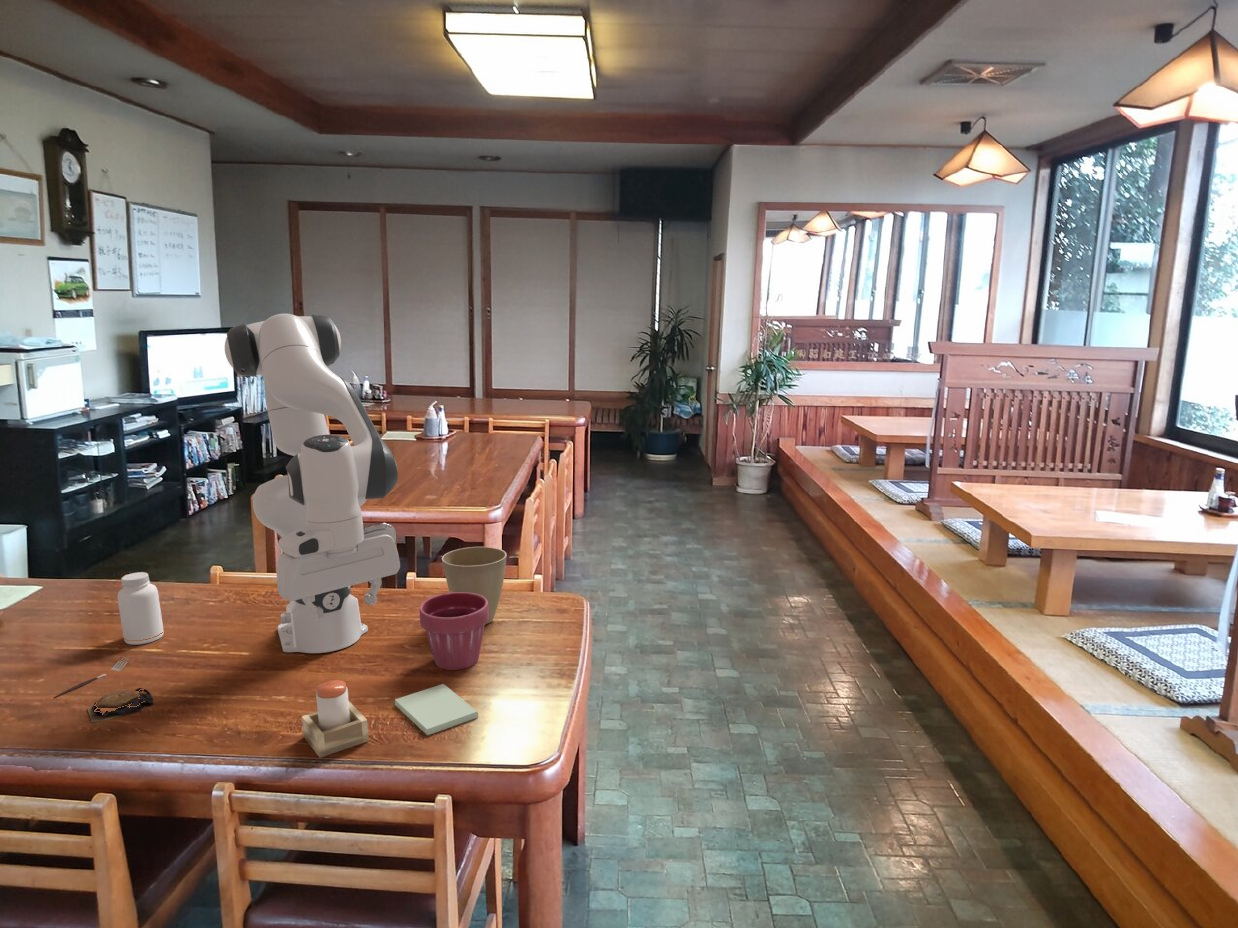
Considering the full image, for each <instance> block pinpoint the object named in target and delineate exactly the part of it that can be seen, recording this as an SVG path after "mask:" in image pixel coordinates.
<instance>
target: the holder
mask: <svg viewBox="0 0 1238 928" xmlns="http://www.w3.org/2000/svg"><path fill="white" fill-rule="evenodd" d="M349 711H350V722H351V723H348V724H345V725H341V726H338V727H335V728H332V729H329V730H326V731H323V732H321V730H320V729H319V721H318V711H315V712H311V713H308V714H304V715H303V716H301V723H302V733H303V738H304V739H305V741H306V742H307V743H308V745H309V746H310V748H312V751H314V752H315V754H316V755H317V756H318V758H320V759H321V758H325V757H326V756H329V755H333V754H335V753H338V752H341V751H344V750H347V749H349V748H353V747H355V746H359V745H362V744H364V743H367V742H369V741H370V737H369V726H368V725H369V724H368V720H367V718H366V717H365V716H364V715H363V714H362V713H361V712H360V711H359V710H358V709H357V708H356V707H355V706H354V705H353V704H352V702H351V701H349Z"/></svg>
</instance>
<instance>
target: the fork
mask: <svg viewBox="0 0 1238 928" xmlns="http://www.w3.org/2000/svg"><path fill="white" fill-rule="evenodd" d="M124 658H125V660H126V659H127V660H129V659H130V660H131V658H128V657H123V659H124ZM127 663H128V662H127V661H125V662H124V661H122V660H120V661H119V660H118V661H117V662H116V664H115V665H113V667H112V668H110V670H111V671H118V672H120V671H122V670H123V668H125V666H126V665H127ZM105 676H107V674H106V673H103V674H101V675H99V676H96V677H93V678H91V679H88V680H85V681H83V682H80V683H78V684H75V686H72V687H70V688H68V689H67V690H65V691H63V692H60V693H59V694H57V695H55V696H54V697H53V699H57V698H59V697H61V696H64V695H66V694H68V693H70V692H73V691H75V690H78V689H80V688H83V687H85V686H87V685H89V684H90V683H92V682H94V681H96V680H98V679H100V678H102V677H105Z"/></svg>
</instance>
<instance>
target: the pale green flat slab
mask: <svg viewBox="0 0 1238 928" xmlns="http://www.w3.org/2000/svg"><path fill="white" fill-rule="evenodd" d="M394 704H395V707H396V708H397V709H398V710H400V711H401V712H402V713H403V714H404V715H405V716H406V717H407V718H408V719H409V720H410V721H411V722H412V723H414V725H416V726H417V727H418V728H419V729H420V730H421V731H422V732H423V733H424V734H425V735H426V736H430V735H432V734H433V735H434V734H436V733H438V732H441V731H444V730H447V729H449V728H453V727H455V726H458V725H460V724H461V725H462V724H464V723H466V722H469V721H472V720H475V719H477V718H479V711H478V710H477V709H475V708H474V706H471V704H469V703H468V702H467V701H466V700H464V699H462V697H461V696H459V695H458V694H457V693H455V692H454V691H453V689H451V688H449V687H448V686H447V685H445V684H444V683H441V684H438V685H436V686H433V687H429V688H426V689H423V690H420V691H417V692H413V693H410V694H408V695H405V696H402V697H401V696H400V697H398V698H395V699H394Z"/></svg>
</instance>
